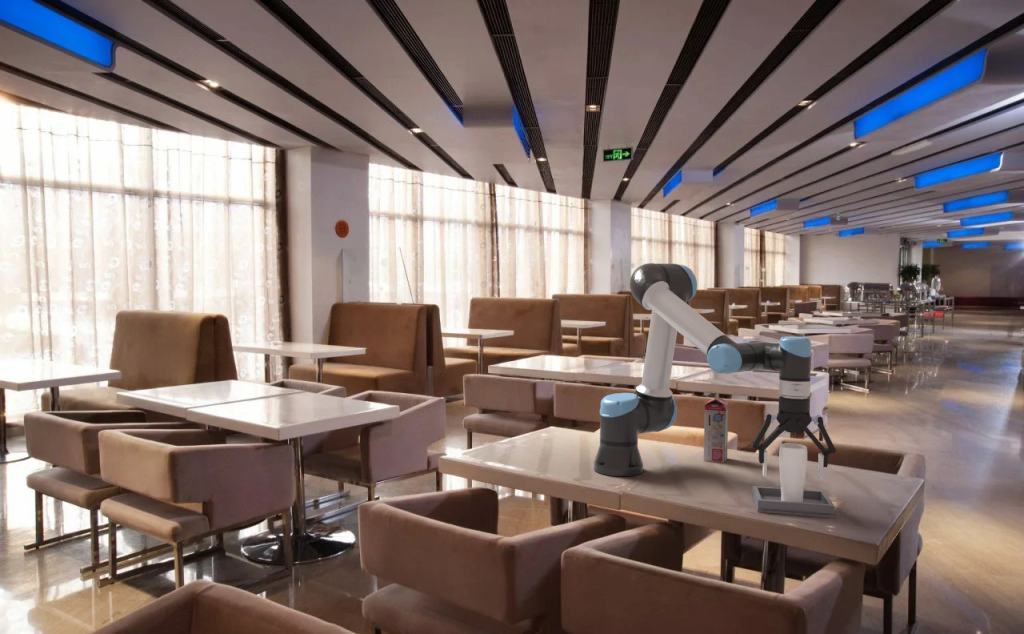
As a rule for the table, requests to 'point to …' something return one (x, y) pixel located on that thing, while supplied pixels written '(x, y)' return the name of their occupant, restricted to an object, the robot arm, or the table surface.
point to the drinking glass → (792, 471)
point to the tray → (811, 505)
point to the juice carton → (716, 430)
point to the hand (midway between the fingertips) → (792, 477)
